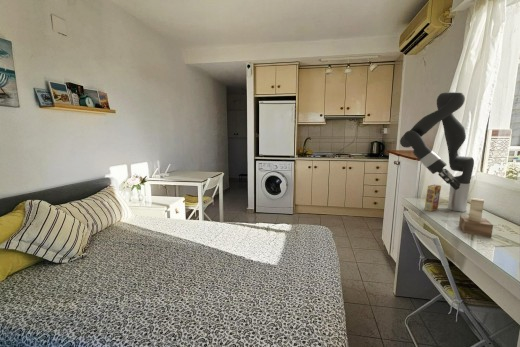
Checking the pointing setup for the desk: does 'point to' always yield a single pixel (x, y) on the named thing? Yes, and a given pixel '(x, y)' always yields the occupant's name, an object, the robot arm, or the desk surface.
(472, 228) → the block
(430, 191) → the candy box
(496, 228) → the desk surface
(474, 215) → the birch block
